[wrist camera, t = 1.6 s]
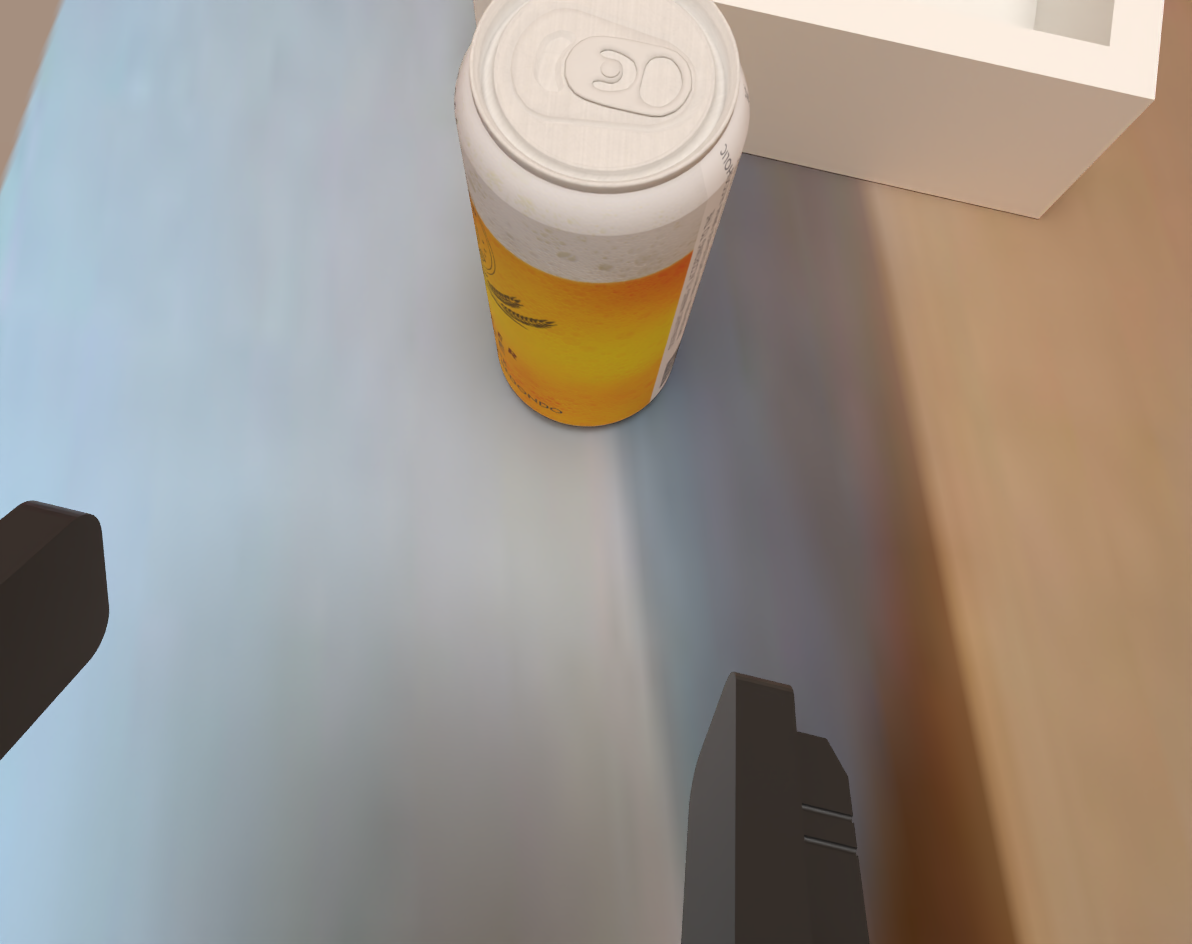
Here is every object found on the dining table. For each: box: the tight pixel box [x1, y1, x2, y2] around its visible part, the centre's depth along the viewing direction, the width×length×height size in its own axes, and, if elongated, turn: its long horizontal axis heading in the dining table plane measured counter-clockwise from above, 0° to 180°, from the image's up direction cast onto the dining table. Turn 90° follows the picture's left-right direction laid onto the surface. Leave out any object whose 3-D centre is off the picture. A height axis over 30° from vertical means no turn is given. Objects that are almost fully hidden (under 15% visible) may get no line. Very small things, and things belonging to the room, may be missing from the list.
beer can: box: [454, 0, 750, 426], centre depth 25 cm, size 6×6×15 cm
